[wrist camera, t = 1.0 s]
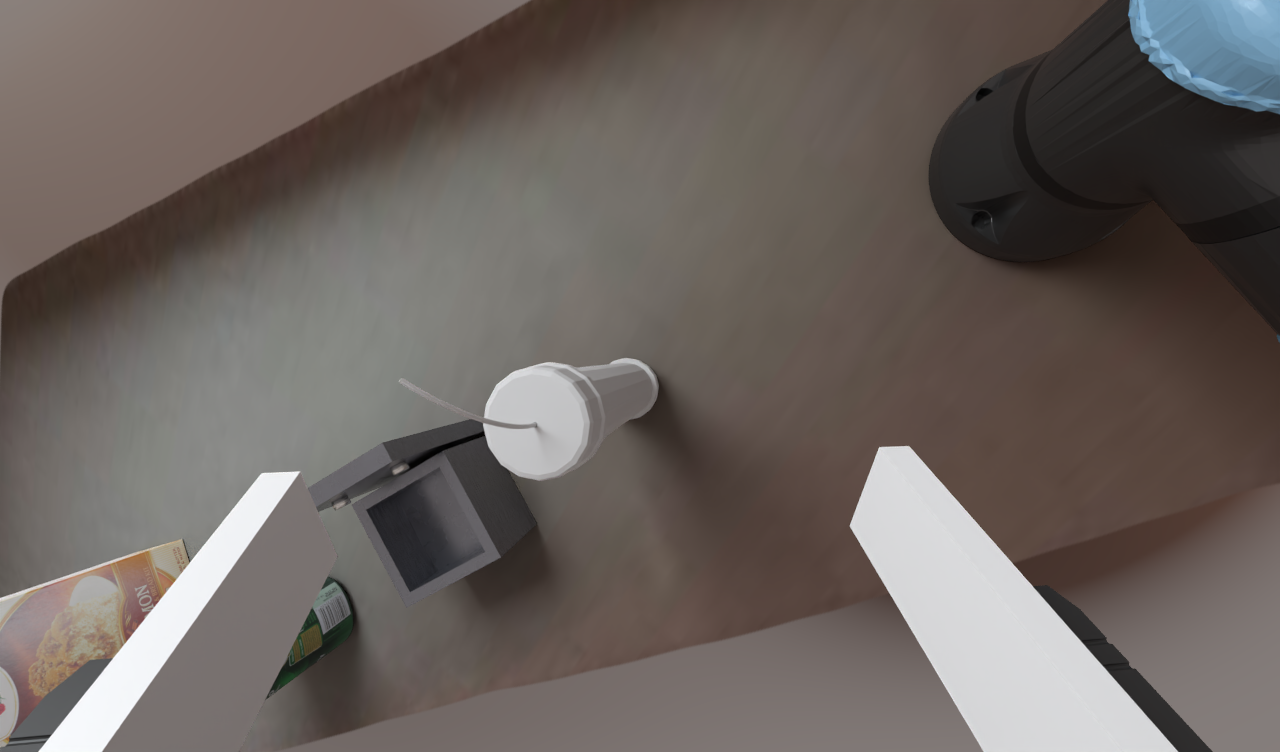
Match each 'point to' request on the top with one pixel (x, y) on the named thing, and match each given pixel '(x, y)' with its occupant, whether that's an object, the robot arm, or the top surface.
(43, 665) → the coffeecake box
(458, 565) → the grey open box
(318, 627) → the coffee jar
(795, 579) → the top surface
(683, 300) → the top surface
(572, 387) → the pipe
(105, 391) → the top surface
